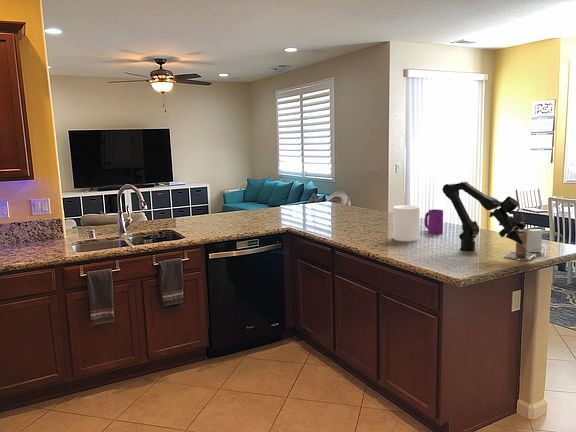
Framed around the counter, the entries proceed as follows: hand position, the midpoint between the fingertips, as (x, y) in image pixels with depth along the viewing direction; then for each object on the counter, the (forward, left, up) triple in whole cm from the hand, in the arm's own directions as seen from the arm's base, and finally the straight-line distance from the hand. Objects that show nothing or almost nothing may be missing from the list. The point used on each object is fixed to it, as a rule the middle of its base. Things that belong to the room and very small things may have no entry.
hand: (524, 242), depth 238 cm
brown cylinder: (-1, 0, -7) cm, 7 cm away
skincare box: (0, +18, -9) cm, 20 cm away
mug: (-68, +40, -9) cm, 80 cm away
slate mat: (-2, +2, -8) cm, 9 cm away
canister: (-72, +12, -9) cm, 74 cm away
